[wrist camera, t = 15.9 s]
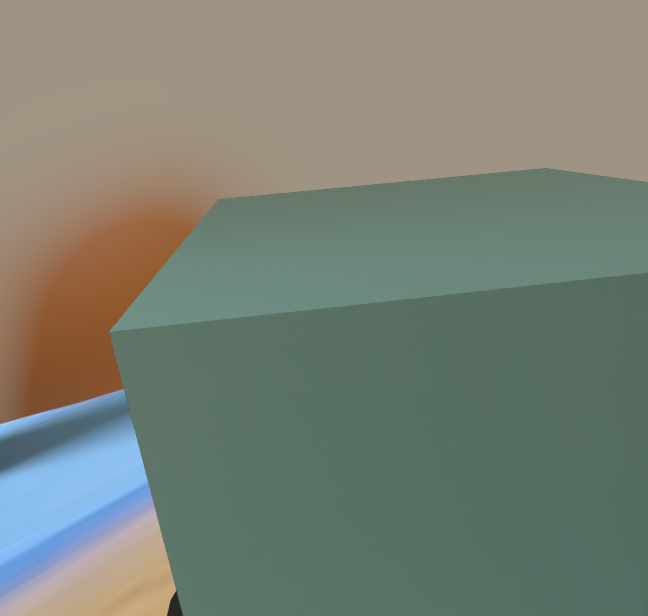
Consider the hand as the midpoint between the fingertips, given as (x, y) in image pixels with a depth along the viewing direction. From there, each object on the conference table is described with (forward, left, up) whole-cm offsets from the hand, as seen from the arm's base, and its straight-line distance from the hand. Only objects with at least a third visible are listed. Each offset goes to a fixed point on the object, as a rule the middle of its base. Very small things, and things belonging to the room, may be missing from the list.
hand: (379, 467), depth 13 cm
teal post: (+4, -3, -10) cm, 11 cm away
